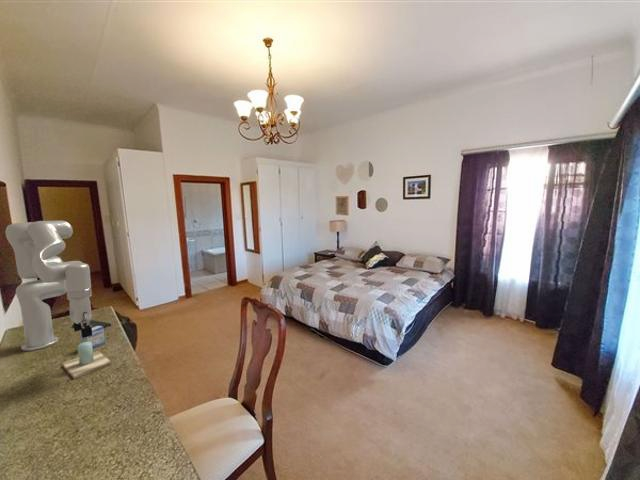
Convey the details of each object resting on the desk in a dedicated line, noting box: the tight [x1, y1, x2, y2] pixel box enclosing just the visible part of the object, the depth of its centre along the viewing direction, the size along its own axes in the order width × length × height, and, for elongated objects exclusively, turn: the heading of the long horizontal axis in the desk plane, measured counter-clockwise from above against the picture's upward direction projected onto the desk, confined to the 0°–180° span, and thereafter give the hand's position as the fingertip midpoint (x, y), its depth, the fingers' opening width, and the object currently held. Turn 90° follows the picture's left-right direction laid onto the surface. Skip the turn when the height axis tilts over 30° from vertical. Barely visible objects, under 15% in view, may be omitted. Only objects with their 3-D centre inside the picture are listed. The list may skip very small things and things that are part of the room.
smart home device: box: [72, 319, 112, 329], centre depth 152 cm, size 8×2×20 cm
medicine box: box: [79, 326, 106, 350], centre depth 128 cm, size 8×4×9 cm, turn 168°
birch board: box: [62, 350, 112, 380], centre depth 113 cm, size 16×12×1 cm
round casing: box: [76, 341, 94, 365], centre depth 112 cm, size 5×5×8 cm
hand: (83, 333), depth 112 cm, fingers open, 9 cm apart
